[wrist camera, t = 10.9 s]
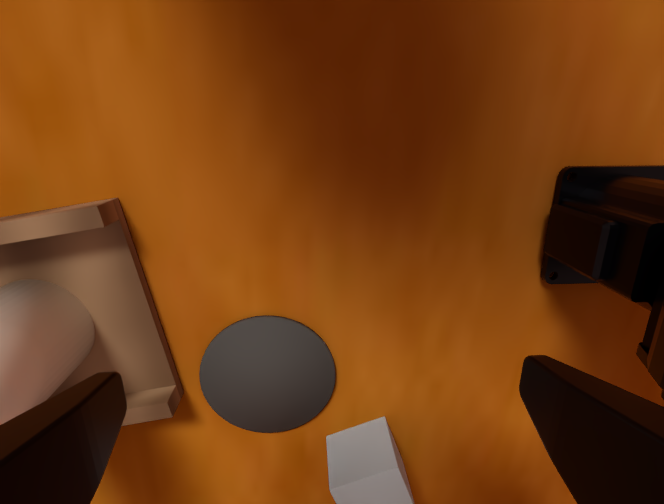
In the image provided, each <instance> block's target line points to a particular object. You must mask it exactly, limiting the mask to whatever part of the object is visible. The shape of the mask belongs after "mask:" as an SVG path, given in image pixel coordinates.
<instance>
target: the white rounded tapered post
mask: <svg viewBox="0 0 664 504" xmlns="http://www.w3.org/2000/svg"><path fill="white" fill-rule="evenodd" d="M94 339H95V329H94V324H93V320H92V318H91V316H90V314H89V312H88V310H87V309H86V307H85V306H84V305H83V303H82V302H81V301H80V300H79V299H78V298H77V297H75V296H74V295H73V294H72V293H70V292H69V291H67V290H66V289H64V288H62V287H60V286H58V285H55V284H53V283H50V282H46V281H41V280H31V279H27V280H18V281H14V282H11V283H8V284H6V285H4V286H2V287H0V425H1V424H3V423H5V422H7V421H9V420H11V419H12V418H14V417H16V416H18V415H20V414H22V413H24V412H25V411H27V410H29V409H31V408H33V407H35V406H36V405H38V404H40V403H42V402H44V401H46V400H47V399H48V398H49V397H50V396H51V395H52V394H53V393H54V392H55V390H56V389H57V388H58V387H59V386H60V385H61V384H62V383H63V382H64V381H65V380H66V379H67V378H68V376H69V375H70V374H71V373H72V372H73V371H74V370H75V369H76V368H77V367H78V366H79V365H80V364H81V363H82V361H83V360H84V359H85V358H86V357H87V356H88V355H89V353H90V351H91V349H92V347H93V344H94Z"/></svg>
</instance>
